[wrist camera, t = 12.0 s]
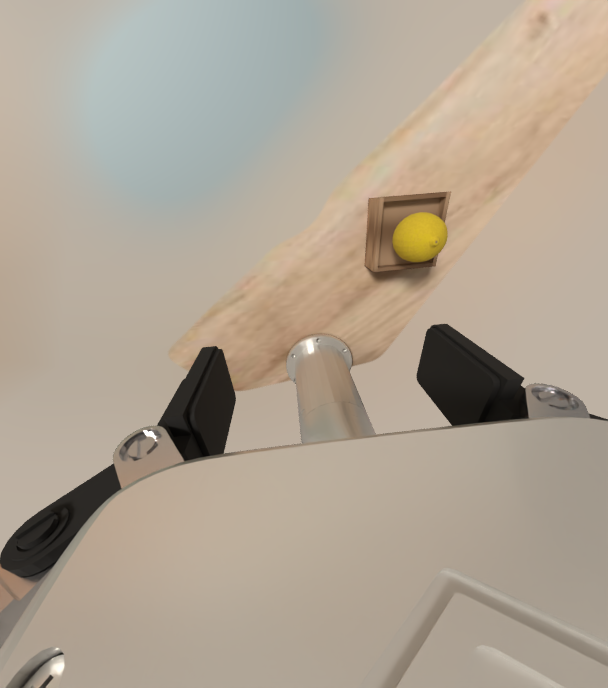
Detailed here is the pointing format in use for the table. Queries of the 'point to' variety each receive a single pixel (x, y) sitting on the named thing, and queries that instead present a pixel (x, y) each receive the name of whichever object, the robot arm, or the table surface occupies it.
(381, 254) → the walnut tray
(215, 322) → the table surface
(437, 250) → the lemon
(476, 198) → the table surface
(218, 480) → the robot arm
